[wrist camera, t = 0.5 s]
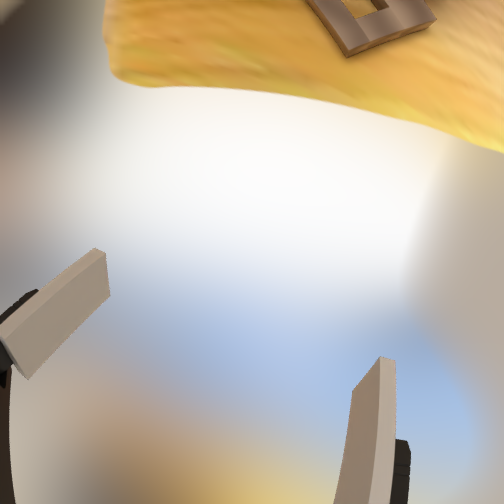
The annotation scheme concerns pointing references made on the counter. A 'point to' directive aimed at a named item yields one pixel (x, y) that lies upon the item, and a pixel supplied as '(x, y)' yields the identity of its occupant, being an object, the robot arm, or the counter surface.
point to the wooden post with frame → (372, 22)
